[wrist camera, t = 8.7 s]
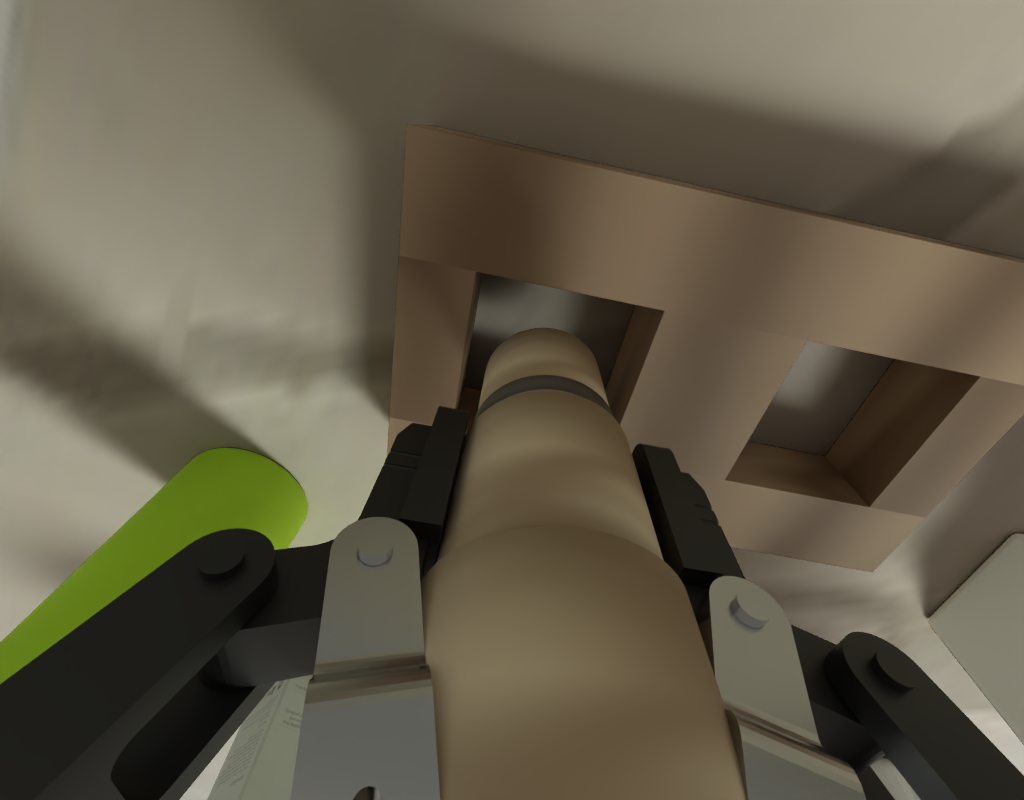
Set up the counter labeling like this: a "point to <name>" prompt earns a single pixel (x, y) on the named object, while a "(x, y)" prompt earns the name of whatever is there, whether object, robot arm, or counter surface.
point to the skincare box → (265, 747)
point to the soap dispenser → (165, 540)
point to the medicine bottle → (991, 630)
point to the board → (721, 331)
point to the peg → (563, 607)
